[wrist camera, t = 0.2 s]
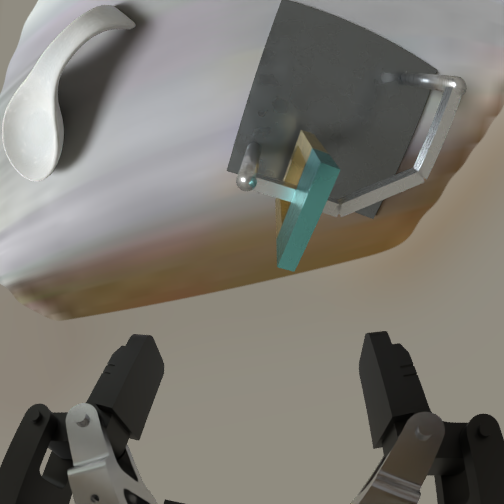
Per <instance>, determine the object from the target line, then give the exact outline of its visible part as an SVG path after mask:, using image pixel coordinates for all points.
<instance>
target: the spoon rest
mask: <svg viewBox="0 0 504 504" xmlns="http://www.w3.org/2000/svg"><path fill="white" fill-rule="evenodd" d="M135 26H136V25H135V23H134V22H133V21H132V20H131V19H130V18H128V17H127V16H126V15H125V14H124V13H122V12H121V11H120V10H118V9H117V8H116V7H114V6H111V5H101V6H98V7H95V8H93V9H91V10H89V11H87V12H86V13H84V14H83V15H81V16H80V17H78V18H77V19H76V20H74V21H73V22H72V23H71V24H70V25H69V26H67V27H66V28H65V29H64V30H63V31H62V32H61V33H60V34H59V35H58V36H57V37H56V38H55V39H54V40H53V41H52V43H51V44H50V45H49V46H48V47H47V49H46V50H45V51H44V53H43V54H42V55H41V57H40V58H39V60H38V61H37V63H36V65H35V66H34V68H33V69H32V71H31V72H30V74H29V75H28V77H27V78H26V79H25V81H24V82H23V83H22V84H21V86H20V87H19V88H18V90H17V91H16V92H15V94H14V95H13V97H12V99H11V100H10V102H9V104H8V106H7V108H6V111H5V114H4V118H3V124H2V140H3V146H4V149H5V152H6V155H7V157H8V159H9V161H10V163H11V164H12V166H13V167H14V168H15V169H16V171H17V172H18V173H19V174H20V175H22V176H23V177H24V178H26V179H28V180H30V181H42V180H44V179H45V178H47V177H48V176H49V175H50V174H51V173H52V172H53V171H54V169H55V167H56V165H57V163H58V161H59V158H60V155H61V152H62V147H63V140H64V125H63V118H62V114H61V111H60V107H59V102H58V85H59V80H60V77H61V74H62V72H63V70H64V68H65V66H66V65H67V63H68V61H69V60H70V59H71V57H72V56H73V55H74V54H75V53H76V51H77V50H78V49H79V48H80V47H81V46H82V45H83V44H85V43H86V42H87V41H88V40H89V39H91V38H92V37H94V36H96V35H98V34H99V33H102V32H104V31H107V30H113V29H126V30H129V29H132V28H134V27H135Z"/></svg>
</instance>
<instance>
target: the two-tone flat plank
mask: <svg viewBox="0 0 504 504" xmlns="http://www.w3.org/2000/svg"><path fill="white" fill-rule="evenodd" d="M305 164H306V165H305ZM304 166H305V168H304ZM303 169H304V171H303ZM302 171H303V173H302ZM339 172H340V169H339V167H338V166H337V164H336V163H335V162H334V160H333V159H332V157H331V156H330V155H329V153H328V152H327V151H326V149H325V148H324V147H323V145H322V144H321V143H320V142H319V140H318V139H317V138H316V136H315V135H314V134H312V133H309V132H306V131H303V130H301V132H300V134H299V137H298V140H297V143H296V145H295V148H294V151H293V154H292V156H291V159H290V162H289V165H288V167H287V170H286V173H285V176H284V178H283V181H285V182H288V183H291V184H294V185H297V184H298V186H297V189H296V191H295V194H294V196H293V199H292V201H291V202H289V201H286V200H282V199H279V198H276V200H275V203H276V237H277V267H279V268H283V269H286V270H290V271H295V269H296V267H297V265H298V263H299V261H300V259H301V256H302V254H303V252H304V250H305V248H306V246H307V244H308V242H309V239H310V237H311V235H312V233H313V231H314V229H315V226H316V224H317V222H318V220H319V218H320V215H321V213H322V211H323V209H324V206H325V204H326V202H327V200H328V197H329V195H330V193H331V191H332V188H333V186H334V184H335V181H336V179H337V177H338V174H339ZM301 174H302V176H301ZM300 176H301V178H300ZM299 179H300V181H299ZM298 182H299V183H298Z"/></svg>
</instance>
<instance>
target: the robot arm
mask: <svg viewBox="0 0 504 504" xmlns="http://www.w3.org/2000/svg"><path fill="white" fill-rule="evenodd" d="M163 374H164V363H163V360H162V357H161V355H160V353H159V350H158V348H157V346H156V343H155V341H154V339H153V337H152V336H150V335H138V334H133V335H132V336H131V337H130V339H129V340H128V342H127V344H126V346H121V347H120V348H119V349H118V350H117V351H116V352H114V354H113V355H112V357H111V358H110V360H109V362H108V365H107V366H106V367H105V369H104V371H103V373H102V374H101V376H100V378H99V380H98V382H97V384H96V385H95V387H94V389H93V391H92V393H91V395H90V397H89V399H88V400H87V402H86V403H82V404H78V405H76V406H74V407H73V408H71V409H70V411H69V412H68V413H52V412H51V411H50V410H49V409H48V407H47V406H45V405H43V404H35V405H33V406H32V407H30V408H29V409H28V411H27V412H26V413H25V416H24V417H23V419H22V421H21V423H20V426H19V427H18V429H17V431H16V433H15V436H14V438H13V440H12V442H11V444H10V446H9V449H8V451H7V453H6V455H5V457H4V460H3V462H2V465H1V467H0V504H69V502H70V499H71V495H72V494H73V497H74V501H75V504H157V502H156V500H155V498H154V497H153V495H152V494H151V493H150V491H149V490H148V489H147V488H146V486H145V485H144V483H143V481H142V479H141V476H140V474H139V472H138V469H137V467H136V465H135V462H134V460H133V457H132V455H131V452H130V449H129V447H128V445H127V442H128V439H129V438H131V439H135V440H139V439H140V436H141V434H142V431H143V428H144V425H145V422H146V420H147V417H148V414H149V411H150V409H151V406H152V404H153V401H154V398H155V395H156V393H157V390H158V388H159V385H160V382H161V379H162V377H163ZM359 374H360V379H361V384H362V388H363V394H364V398H365V403H366V409H367V414H368V419H369V425H370V431H371V436H372V442H373V448H374V449H375V448H380V447H383V452H384V456H383V457H382V459H381V461H380V462H379V464H378V465H377V467H376V469H375V470H374V472H373V473H372V475H371V476H370V478H369V479H368V481H367V482H366V484H365V485H364V486H363V488H362V489H361V491H360V492H359V494H358V495H357V496H356V497H355V499H354V500H353V501H352V502H351V503H350V504H417V503H418V501H419V498H420V495H421V493H420V488H421V486H422V484H423V482H424V480H425V478H426V476H427V475H434V477H435V484H436V492H437V501H438V504H504V439H503V436H502V433H501V430H500V427H499V424H498V422H497V421H496V419H495V418H493V417H492V416H491V415H488V414H479V415H477V416H475V417H473V418H472V419H471V420H470V422H469V423H450V422H444V421H442V420H441V418H440V417H438V416H437V415H436V414H433V413H432V412H431V411H430V408H429V406H428V403H427V400H426V397H425V394H424V391H423V389H422V386H421V383H420V380H419V378H418V375H417V372H416V370H415V367H414V366H413V362H412V359H411V357H410V355H409V352H408V351H407V350H406V349H405V348H404V347H403V346H402V345H401V344H392V343H391V340H390V338H389V335H388V333H387V332H386V331H382V332H373V333H367V334H366V335H365V339H364V343H363V348H362V352H361V357H360V361H359ZM47 448H49V449H51V450H52V452H51V454H50V457H49V460H48V462H47V465H46V467H45V470H44V473H43V475H42V476H41V475H40V471H39V469H40V465H41V463H42V460H43V457H44V455H45V453H46V450H47ZM164 504H184V503H179V502H174V501H169V500H165V501H164Z"/></svg>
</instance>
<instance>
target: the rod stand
mask: <svg viewBox="0 0 504 504" xmlns="http://www.w3.org/2000/svg"><path fill="white" fill-rule="evenodd" d="M436 73H437V70H436V69H435V68H433V67H432V66H430V65H429V64H427V63H426V62H424V61H423V60H421V59H419V58H418V57H416V56H415V55H413V54H411V53H410V52H408V51H406V50H404V49H403V48H401V47H399V46H397V45H396V44H394V43H392V42H390V41H388V40H386V39H384V38H382V37H380V36H378V35H376V34H374V33H372V32H370V31H368V30H366V29H364V28H362V27H360V26H357V25H355V24H353V23H351V22H348V21H346V20H344V19H341V18H339V17H336V16H334V15H331V14H328V13H326V12H323V11H320V10H317V9H314V8H311V7H308V6H305V5H302V4H299V3H296V2H292V1H289V0H282V1H281V3H280V6H279V9H278V11H277V14H276V17H275V20H274V22H273V25H272V28H271V31H270V34H269V37H268V39H267V42H266V45H265V48H264V51H263V54H262V57H261V60H260V63H259V66H258V69H257V72H256V75H255V78H254V81H253V84H252V88H251V91H250V94H249V97H248V100H247V104H246V107H245V110H244V113H243V117H242V120H241V123H240V127H239V130H238V133H237V137H236V140H235V144H234V147H233V151H232V154H231V158H230V161H229V165H228V168H227V171H229V172H232V173H236V174H238V177H237V180H236V183H237V186H238V187H239V188H240V189H241V190H243V191H251V190H253V191H256V192H259V193H263V194H266V195H269V196H273V197H276V198H279V199H282V200H286V201H289V202H291V201H292V199H293V196H294V194H295V191H296V189H297V186H298V184H297V185H294V184H291V183H288V182H285V181H283V178H284V176H285V173H286V170H287V167H288V165H289V162H290V159H291V156H292V154H293V151H294V148H295V145H296V143H297V140H298V137H299V134H300V132H301V130H303V131H306V132H309V133H312V134H314V135H315V136H316V138H317V139H318V140H319V142H320V143H321V144H322V145H323V147H324V148H325V149H326V151H327V152H328V153H329V155H330V156H331V157H332V159H333V160H334V162H335V163H336V164H337V166H338V167H339V169H340V172H339V174H338V177H337V179H336V181H335V184H334V186H333V188H332V191H331V193H330V195H329V197H328V200H327V202H326V204H325V206H324V209H323V211H322V212H323V213H326V214H329V215H332V216H335V217H337V216H338V214H340V216H341V217H343V216H345V215H348V214H350V213H353V212H356V213H359V214H362V215H364V216H367V217H370V218H372V219H373V218H374V216H375V214H376V212H377V210H378V209H379V207H380V205H381V203H382V201H383V200H384V199H386V198H388V197H391V196H393V195H395V194H398V193H400V192H403V191H405V190H407V189H410V188H412V187H414V186H417V185H419V184H421V183H424V179H423V177H424V178H425V179H427V178H428V176H429V174H430V172H431V170H432V168H433V166H434V163H435V161H436V159H437V157H438V155H439V152H440V150H441V148H442V145H443V143H444V141H445V138H446V136H447V134H448V131H449V129H450V126H451V124H452V121H453V119H454V116H455V113H456V111H457V108H458V105H459V103H460V100H461V97H462V95H463V94H464V93H465V92H466V83H465V81H464V80H463V79H462V78H460V77H455V76H446V75H436ZM431 89H433V90H438V91H444V94H443V96H442V99H441V102H440V104H439V107H438V110H437V112H436V115H435V117H434V120H433V122H432V125H431V127H430V130H429V132H428V135H427V137H426V139H425V142H424V144H423V146H422V149H421V151H420V153H419V155H418V158H417V160H416V162H415V164H414V166H413V168H410V169H408V170H406V171H403V172H401V173H398V174H396V172H397V169H398V167H399V165H400V163H401V161H402V159H403V156H404V154H405V152H406V150H407V147H408V145H409V143H410V140H411V138H412V136H413V133H414V131H415V128H416V126H417V124H418V121H419V119H420V116H421V114H422V111H423V108H424V106H425V103H426V101H427V98H428V95H429V92H430V90H431ZM305 165H306V164H305ZM304 168H305V166H304ZM303 171H304V169H303ZM303 171H302V173H303ZM395 174H396V175H395ZM301 176H302V174H301ZM301 176H300V178H301ZM299 181H300V179H299ZM298 183H299V182H298Z"/></svg>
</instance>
